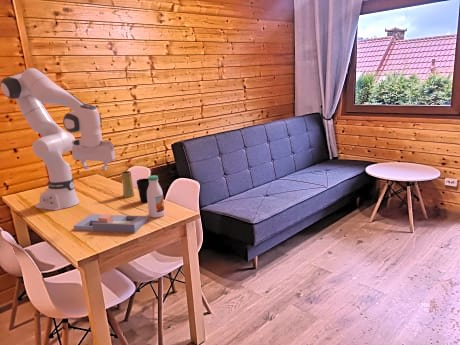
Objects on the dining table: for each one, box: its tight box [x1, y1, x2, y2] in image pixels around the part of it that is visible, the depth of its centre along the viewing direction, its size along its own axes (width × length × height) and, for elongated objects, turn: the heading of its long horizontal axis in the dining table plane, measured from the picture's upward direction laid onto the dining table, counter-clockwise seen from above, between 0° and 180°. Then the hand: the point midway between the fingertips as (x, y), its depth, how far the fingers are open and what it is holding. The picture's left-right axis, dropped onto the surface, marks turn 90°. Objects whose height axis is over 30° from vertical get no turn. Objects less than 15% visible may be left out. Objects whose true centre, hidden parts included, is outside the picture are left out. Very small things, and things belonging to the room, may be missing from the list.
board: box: [73, 213, 149, 234], centre depth 167 cm, size 30×15×4 cm, turn 79°
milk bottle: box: [147, 174, 166, 219], centre depth 174 cm, size 8×8×20 cm
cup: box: [136, 177, 149, 204], centre depth 196 cm, size 8×8×12 cm
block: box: [98, 213, 114, 223], centre depth 164 cm, size 4×4×4 cm
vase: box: [120, 170, 135, 198], centre depth 206 cm, size 6×6×14 cm
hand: (95, 169), depth 169 cm, fingers open, 8 cm apart
